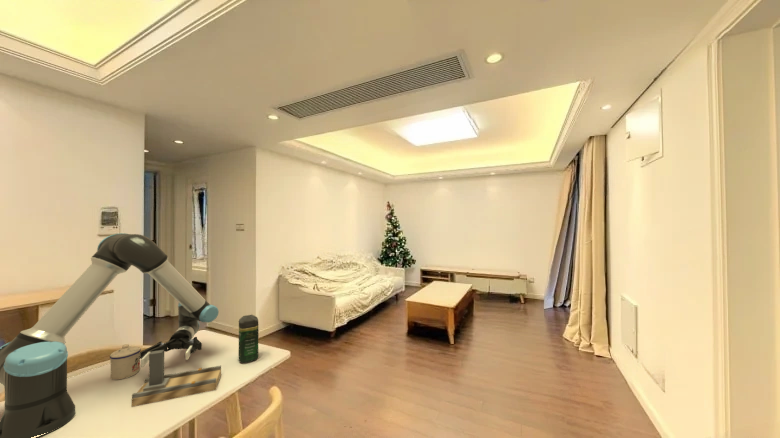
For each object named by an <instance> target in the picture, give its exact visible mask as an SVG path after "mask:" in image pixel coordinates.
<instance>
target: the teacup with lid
mask: <svg viewBox="0 0 780 438" xmlns="http://www.w3.org/2000/svg"><path fill="white" fill-rule="evenodd" d="M141 350H142V348H140V346H132V345H130V344H129V343H128V344H123V345H122V347H120V348H119V349H117V350H115V351H113V352H111V354H110V355H109V359H110V362H109V363H110V366H109V367H110V379H111V380H115V381H116V380H124V379H127V378H130V377H132V376H135V375H136V374H138V373H139V372H140V370H141V359H140V352H141Z"/></svg>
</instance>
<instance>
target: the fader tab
mask: <svg viewBox="0 0 780 438" xmlns="http://www.w3.org/2000/svg"><path fill="white" fill-rule="evenodd" d="M164 375H165V351H164V350H159V351H152V352H151V353H150V354H149V361H148V378H149V382H148V383H147V385H146V386H145V387H144V388H143V392H144V391H149V390H154V389H160V388H165V386H166V385H167V383H168V382H169V380H170V377H169V378H164Z"/></svg>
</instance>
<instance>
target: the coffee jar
mask: <svg viewBox="0 0 780 438" xmlns="http://www.w3.org/2000/svg"><path fill="white" fill-rule="evenodd" d="M259 330H260V329H259V317H257V316H256V315H254V314H248V315H247V314H246V315H243V316H241V317H240V318H239V320H238V361H239V362H240V363H251V362H253V361H255V360H257V359H258V358H259V336H260V335H259Z"/></svg>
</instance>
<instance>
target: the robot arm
mask: <svg viewBox="0 0 780 438" xmlns="http://www.w3.org/2000/svg"><path fill="white" fill-rule="evenodd" d="M90 261H91V264H90V265H89V266H88V267H87V268H86V269H85V271H84V272H83V273H82V274H80V276H79V277H78V278H77V279H76V280H75V281H74V283H73V284H71V285H70V287H69V288H68V289H67V290H66V291H65V292H64V293H63V294H62V295H61V296H60V297H59V298H58V299H57V300H56V302H55V303H53V305H52V306H51V307H50V308H49V309H48V310H47V311H46V312H45V313H44V315H43V316H41V317H40V318H39V320H37V322H36V323H35V324H34V325H33V326H32V327H31V328H28V329H24V330H21V331H20V332H19V333H18V334H17V335H16V336H15V337H14V338H13V339H12V340H11V341H9V342H7V343H5V344H3V345H1V346H0V384H1V385H2V386H3V387H4V412H3V414H2V416H1V418H0V438H31V437H34V436H37V435H41V434H44V433H47V432H50V431H52V430H54V429H56V428H58V427H59V428H61V427H63V426H64V425H66V424H67V423H68V422H70V421H71V420H72V419H73V418H74V417H75V415H76V405H75V403H74V401H73V399H72V397H71V396H70V394H69V392H68V356H69V352H68V349H67V345H66V343H67V342H66V339H65V338H66V337H65V336H67V334H68V333H69V332H70V330H71V329H72V328H73V327H74V326H75V325H76V324H77V323H78V321H79V320H80V319H81V318H82V317H83V316H84V314H86V312H87V311H88V310H89V308H90V307H91V306H92V305H93V304H94V303H95V302H96V301H97V299H99V297H100V296H101V295H102V293H104V291H105V290H106V289H107V288H108V287H109V285H110V284H111V283H112V282H113V281H114V279H115V278H116V277H117V276H118V275H120V274H123V273H126V272H127V271H128V270H129V269H130V268H131V266H133V267H135V269H138V270H139V271H140V272H141V273H142V274H148V275H149V276H150V277H151V278H152V279H153V280H154V281H155V282H156V283H157V284H159V285H160V286H161V288H163V289H164V290H165V291H166V292H167V293H169V295H170V296H172V298H173V299H174V300H176V301H177V302H178V305H177V309H178V310H177V311H178V313H177V314H178V322H177V323H178V326H177V327H178V328H177V329H176V331H175V332H174V333H173V334H172V335H171V336H170V337H169V339H168V341H166V342H163V341H158V342H157V343H156V344H154V345H151V346H149V347H148V348H145V349H143V350H142V351H140V368H141V367H142V368H144V367H145V365H146V364H147V363H149V354H150V353H151V352H152V351H159V350H164V353H166V352H167V353H168V352H169V351H171V350H172V351H173V350H186V352H185V361H187V360H189V359H190V357H191V355H193V354H194V353H195V352H196V351H197V350H198V351H201V350H202V349H203V347H202V346H203V345H202V344H203V343H202V342H201V340H199V339H198V336H196V334H197V333H198V331H199V329H200V325H201V324H200V322H201V323H206V324H207V323H212V322H213V321H215V320H216V319H217V317H218V315H219V311H220V310H219V308H218V307H217V306H216V305H214V304H210V303H209V302H208V300H206V299H205V298H204V297H203V296H202V295H201V294H200V293H199V292H198V291H197V289H196V288H195V287H193V285H192V284H191V283H190V282H189V281H188V280H187V279H186V278H185V277H184V276H183V275H182V274H181V273H180V272H179V271H178V270H177V268H176V267H174V265H173V264H171V262H170V261H169V256H168V255H167V253H165V252H164V250H162V249H161V248H160V247H159V246H158V244H157V243H155V242H154V241H153V240H152V239H151V238H149V237H147V236H146V235H144V234H140V233H139V234H138V233H115V234H111V235H108V236H106V237H104V238H103V239H102V240H100V242H99V243H98V245H97V249H96V252H95V253H94V254H93V255H92V256H91V257H90ZM62 425H63V426H62ZM60 426H61V427H60ZM59 428H58V429H59ZM56 430H57V429H56ZM54 431H55V430H54ZM52 432H53V431H52ZM50 433H51V432H50Z"/></svg>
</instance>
